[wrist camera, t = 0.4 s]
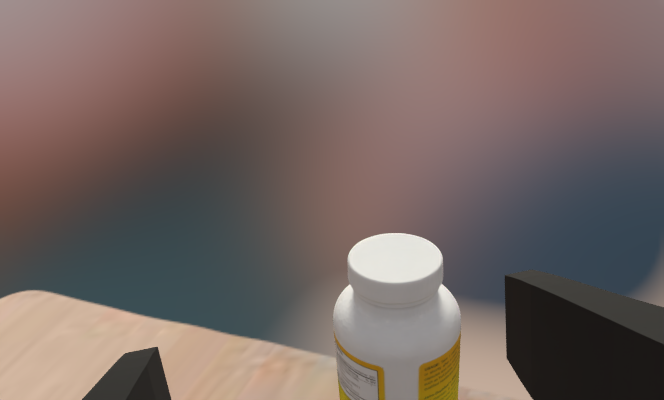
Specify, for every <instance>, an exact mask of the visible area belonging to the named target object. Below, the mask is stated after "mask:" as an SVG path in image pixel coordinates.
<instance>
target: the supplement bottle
mask: <svg viewBox="0 0 664 400" xmlns="http://www.w3.org/2000/svg"><path fill="white" fill-rule="evenodd" d="M442 279H443V257H442V254H441V252H440V250H439V249H438V248H437V247H436V246H435V245H434V244H433V243H431V242H430V241H428V240H426V239H424V238H421V237H418V236H414V235H409V234H403V233H389V234H381V235H376V236H372V237H369V238H366V239H364V240H362V241H360V242H359V243H357V244H356V245H355V246H354V247H353V248H352V250H351V251H350V253H349V255H348V281H349V283H350V285H349V286H347V287H346V288H345V289H344V291H343V292H342V293H341V295H340V296H339V298H338V300H337V302H336V305H335V308H334V314H333V325H334V338H335V347H336V360H337V371H338V384H339V395H340V400H458V383H459V359H460V337H461V315H460V311H459V307H458V304H457V302H456V300H455V298H454V297H453V295H452V294H451V293H450V291H449V290H448V289H447V288H445V286H443V285H442V284H441V283H442Z"/></svg>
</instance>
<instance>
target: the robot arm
mask: <svg viewBox="0 0 664 400" xmlns="http://www.w3.org/2000/svg"><path fill="white" fill-rule="evenodd" d="M505 306H506V343H507V344H506V345H507V347H506V348H507V359H508V361H509V363H510V364H511V366H512V367H513V369H514V371H515V372H516V374H517V375H518V377H519V379H520V381H521V382H522V383H523V385H524V387H525V388H526V390H527V391H528V393H529V394H530V396H531V397H532V399H534V400H664V307H660V306H656V305H653V304H649V303H646V302H642V301H639V300H635V299H632V298H629V297H625V296H622V295H618V294H615V293H612V292H609V291H606V290H602V289H599V288H596V287H593V286H590V285H586V284H583V283H580V282H577V281H574V280H570V279H566V278H563V277H560V276H556V275H553V274H549V273H545V272H540V271H535V270H528V271H523V272H518V273H513V274H509V275H505ZM82 400H171V397H170V393H169V389H168V385H167V381H166V378H165V374H164V370H163V366H162V362H161V358H160V354H159V350H158V347H153V348H149V349H144V350H139V351H134V352H129V353H125V354H124V355H123V356H122V357H121V358H120V359H119V360H118V361H117V362H116V363H115V364H114V365H113V366H112V367H111V368H110V369H109V370H108V372H107V373H106V374H105V375H104V376H103V377H102V378H101V379H100V380H99V381H98V383H97V384H96V385H95V386H94V387H93V388H92V389H91V390H90V391H89V392H88V394H87V395H86V396H85V397H84V398H83V399H82Z"/></svg>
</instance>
